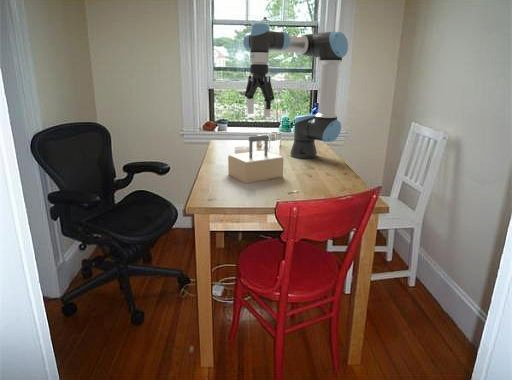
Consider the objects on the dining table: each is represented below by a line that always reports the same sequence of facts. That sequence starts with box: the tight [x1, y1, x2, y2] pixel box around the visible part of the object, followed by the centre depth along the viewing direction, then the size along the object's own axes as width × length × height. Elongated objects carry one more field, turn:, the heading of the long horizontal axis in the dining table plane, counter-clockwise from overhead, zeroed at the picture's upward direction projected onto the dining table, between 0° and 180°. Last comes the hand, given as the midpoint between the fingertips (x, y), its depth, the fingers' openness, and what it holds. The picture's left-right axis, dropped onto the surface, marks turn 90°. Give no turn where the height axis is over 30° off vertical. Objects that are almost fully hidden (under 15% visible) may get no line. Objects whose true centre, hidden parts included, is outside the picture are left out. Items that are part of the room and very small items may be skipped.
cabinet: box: [227, 150, 284, 185], centre depth 167 cm, size 20×16×10 cm
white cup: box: [234, 145, 249, 154], centre depth 181 cm, size 8×8×10 cm
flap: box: [237, 134, 284, 163], centre depth 161 cm, size 19×8×10 cm, turn 121°
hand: (258, 115), depth 157 cm, fingers open, 13 cm apart
